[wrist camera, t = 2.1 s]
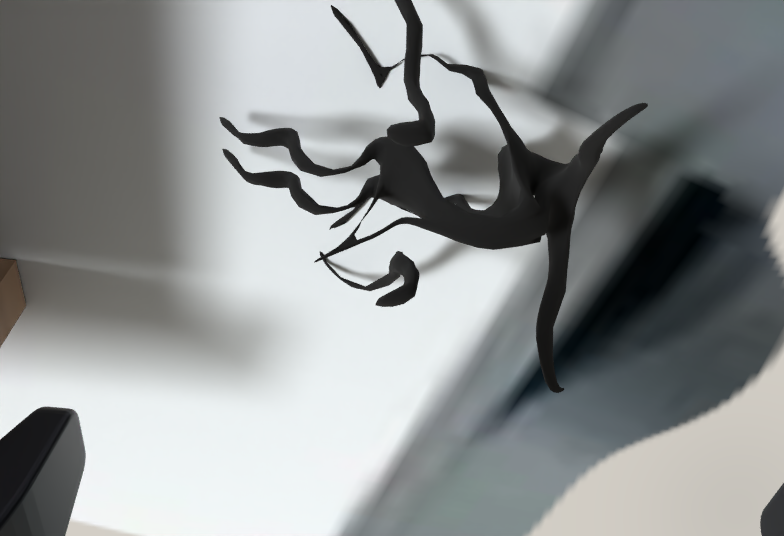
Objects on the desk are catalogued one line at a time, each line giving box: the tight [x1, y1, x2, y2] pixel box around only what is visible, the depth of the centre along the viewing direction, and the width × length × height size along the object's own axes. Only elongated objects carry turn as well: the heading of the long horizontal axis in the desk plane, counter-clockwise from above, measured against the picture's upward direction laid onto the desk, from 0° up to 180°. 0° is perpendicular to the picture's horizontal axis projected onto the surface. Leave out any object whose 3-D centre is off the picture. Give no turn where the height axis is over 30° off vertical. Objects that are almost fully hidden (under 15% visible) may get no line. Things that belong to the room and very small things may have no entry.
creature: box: [220, 0, 648, 393], centre depth 14 cm, size 8×5×8 cm
